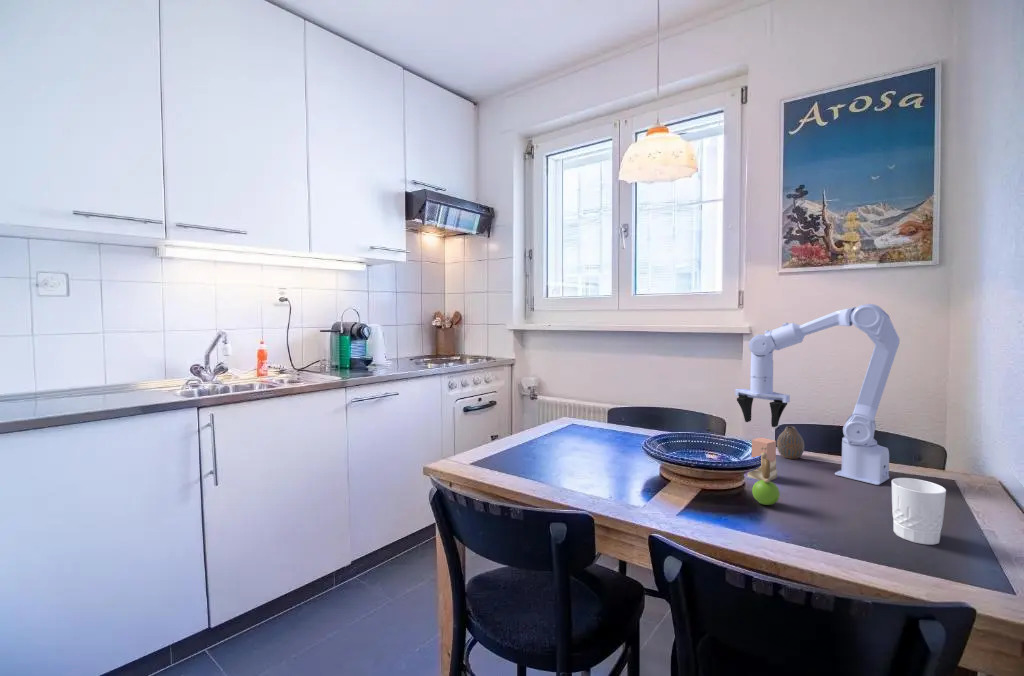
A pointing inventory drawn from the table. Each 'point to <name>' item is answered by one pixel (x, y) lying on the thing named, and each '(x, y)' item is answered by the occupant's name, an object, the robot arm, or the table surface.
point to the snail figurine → (765, 484)
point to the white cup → (918, 510)
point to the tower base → (758, 475)
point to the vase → (790, 443)
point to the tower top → (772, 466)
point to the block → (763, 443)
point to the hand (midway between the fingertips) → (761, 423)
